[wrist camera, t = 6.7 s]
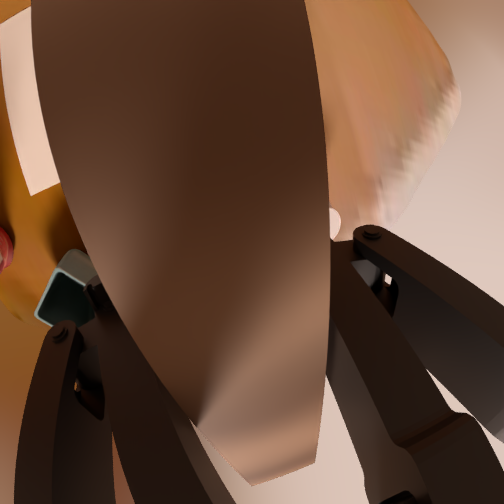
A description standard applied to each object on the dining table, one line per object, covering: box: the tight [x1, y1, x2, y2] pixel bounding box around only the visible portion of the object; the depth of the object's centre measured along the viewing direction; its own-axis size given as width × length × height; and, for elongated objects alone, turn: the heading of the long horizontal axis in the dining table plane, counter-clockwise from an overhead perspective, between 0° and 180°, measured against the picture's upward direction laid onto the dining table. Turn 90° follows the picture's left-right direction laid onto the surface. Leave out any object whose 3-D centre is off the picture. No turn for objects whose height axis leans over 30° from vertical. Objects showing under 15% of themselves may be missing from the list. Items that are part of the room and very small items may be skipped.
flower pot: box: [34, 249, 98, 328], centre depth 31 cm, size 9×9×9 cm
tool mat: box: [0, 6, 60, 196], centre depth 21 cm, size 26×10×1 cm, turn 8°
